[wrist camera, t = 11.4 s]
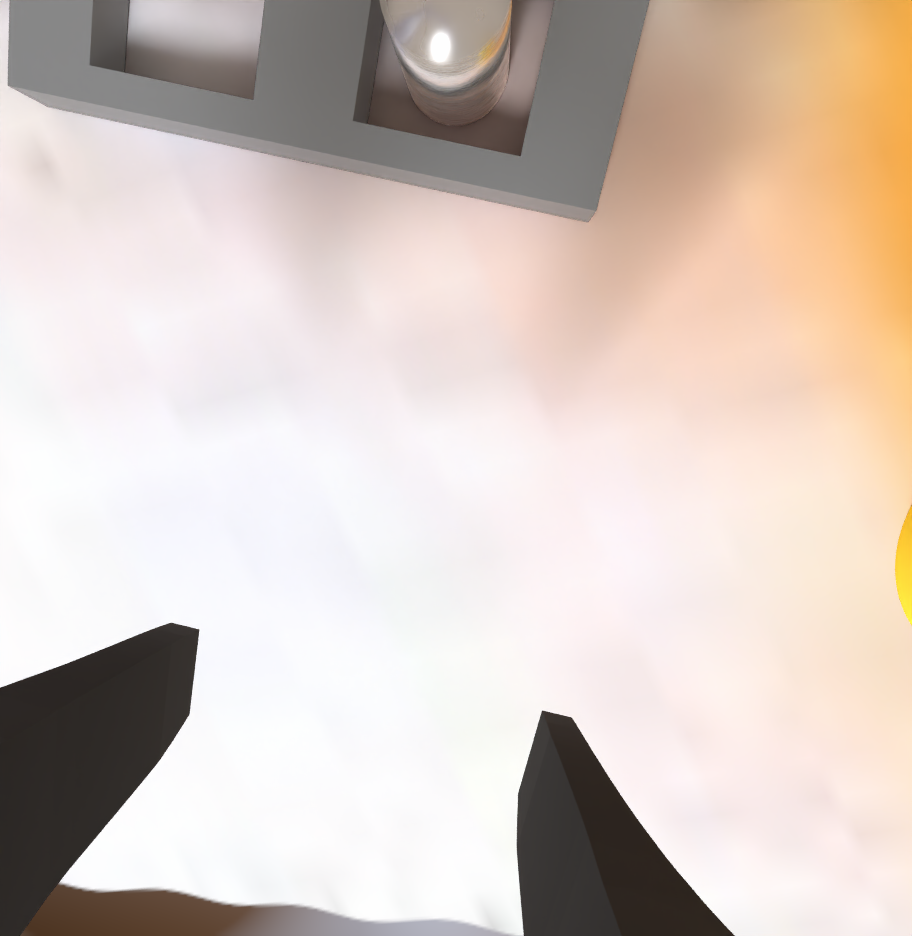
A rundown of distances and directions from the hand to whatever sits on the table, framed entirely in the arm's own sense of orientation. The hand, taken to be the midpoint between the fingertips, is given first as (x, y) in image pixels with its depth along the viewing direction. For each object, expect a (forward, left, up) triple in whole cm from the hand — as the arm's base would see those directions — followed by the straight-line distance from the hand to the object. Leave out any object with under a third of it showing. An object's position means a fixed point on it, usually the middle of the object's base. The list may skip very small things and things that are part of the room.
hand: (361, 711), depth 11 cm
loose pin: (-2, +16, -9) cm, 18 cm away
